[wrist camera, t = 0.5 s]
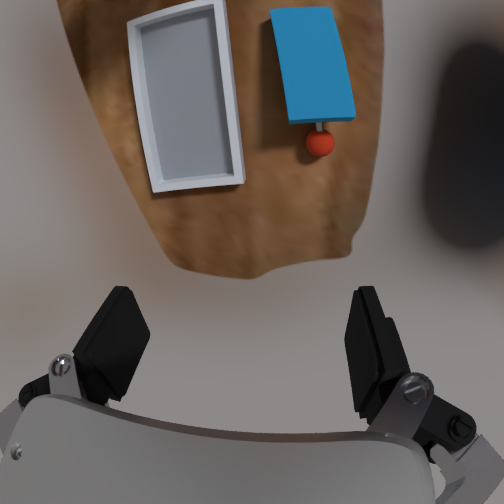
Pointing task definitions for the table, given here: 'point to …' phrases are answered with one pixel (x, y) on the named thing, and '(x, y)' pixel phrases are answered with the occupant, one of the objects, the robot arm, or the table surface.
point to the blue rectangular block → (313, 71)
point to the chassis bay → (187, 96)
